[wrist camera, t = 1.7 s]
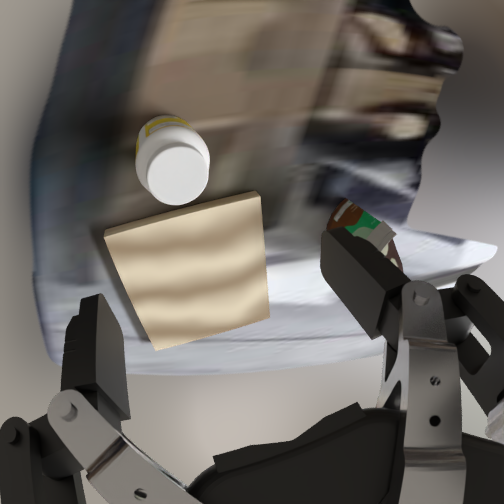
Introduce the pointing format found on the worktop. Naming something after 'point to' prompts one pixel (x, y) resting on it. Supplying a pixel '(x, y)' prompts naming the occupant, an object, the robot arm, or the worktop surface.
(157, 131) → the supplement bottle
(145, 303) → the birch board
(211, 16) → the worktop surface
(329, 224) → the food container
